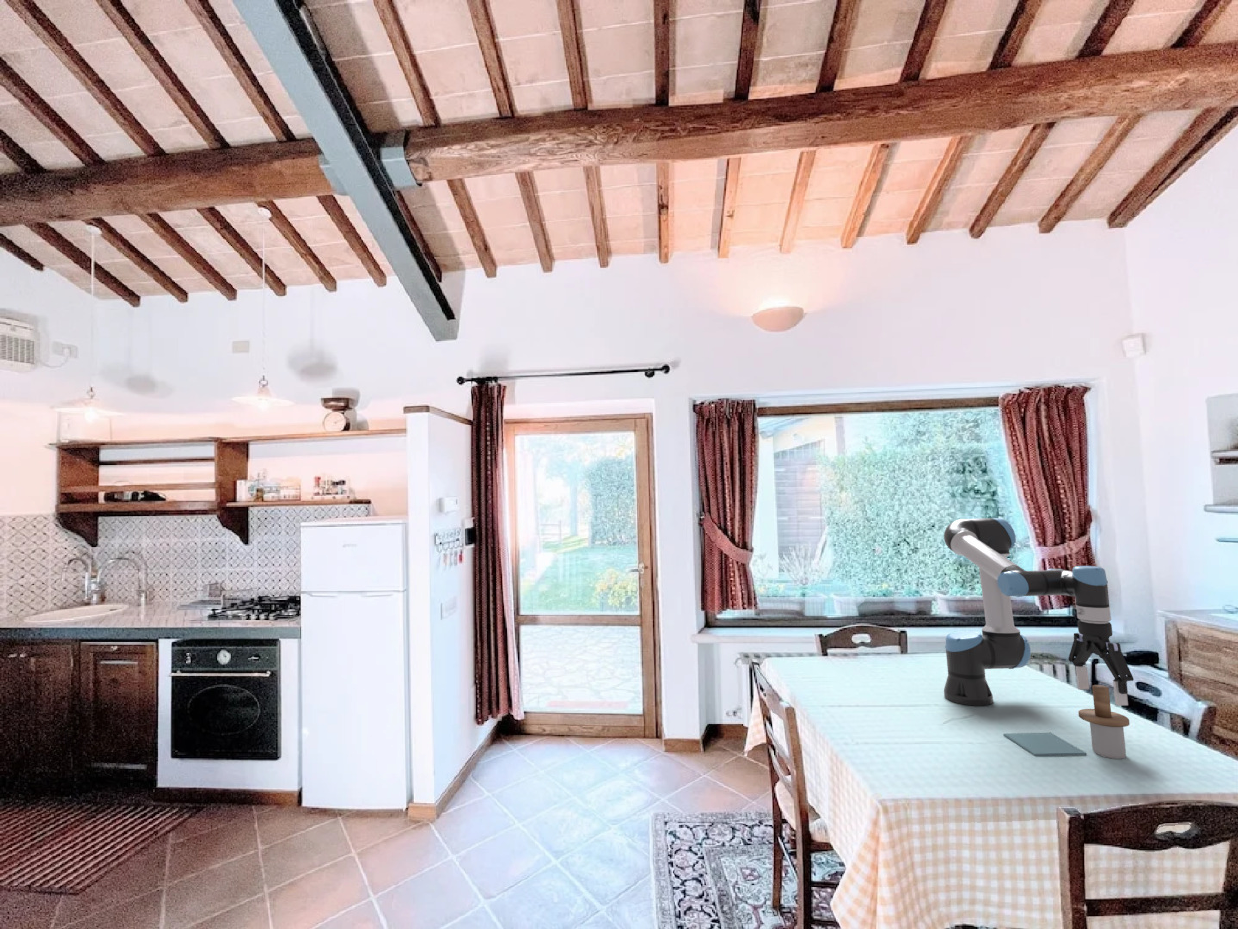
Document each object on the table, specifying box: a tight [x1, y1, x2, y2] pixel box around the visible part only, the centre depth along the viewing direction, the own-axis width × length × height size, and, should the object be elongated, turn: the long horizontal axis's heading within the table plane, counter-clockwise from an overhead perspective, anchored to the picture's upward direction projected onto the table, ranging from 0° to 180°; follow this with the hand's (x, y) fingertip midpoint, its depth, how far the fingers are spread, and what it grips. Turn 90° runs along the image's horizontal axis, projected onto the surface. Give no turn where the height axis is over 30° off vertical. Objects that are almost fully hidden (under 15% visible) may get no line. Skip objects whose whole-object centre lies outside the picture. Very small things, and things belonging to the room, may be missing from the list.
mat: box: [1003, 732, 1087, 757], centre depth 166 cm, size 14×14×1 cm
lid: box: [1077, 684, 1130, 728], centre depth 161 cm, size 11×11×9 cm
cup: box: [1089, 722, 1127, 760], centre depth 160 cm, size 7×10×9 cm
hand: (1101, 696), depth 161 cm, fingers open, 13 cm apart
